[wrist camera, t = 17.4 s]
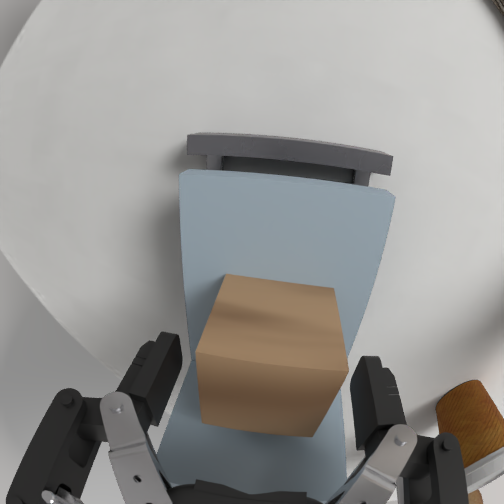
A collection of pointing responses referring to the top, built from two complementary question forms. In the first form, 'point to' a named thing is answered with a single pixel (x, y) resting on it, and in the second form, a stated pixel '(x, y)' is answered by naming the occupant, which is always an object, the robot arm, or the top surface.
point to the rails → (289, 152)
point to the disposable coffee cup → (474, 431)
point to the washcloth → (499, 5)
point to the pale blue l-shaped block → (279, 269)
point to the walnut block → (270, 357)
